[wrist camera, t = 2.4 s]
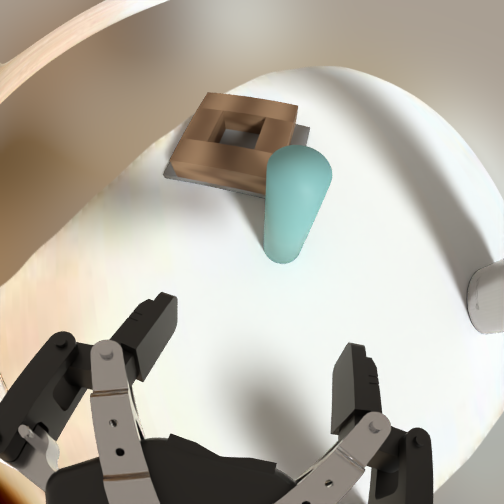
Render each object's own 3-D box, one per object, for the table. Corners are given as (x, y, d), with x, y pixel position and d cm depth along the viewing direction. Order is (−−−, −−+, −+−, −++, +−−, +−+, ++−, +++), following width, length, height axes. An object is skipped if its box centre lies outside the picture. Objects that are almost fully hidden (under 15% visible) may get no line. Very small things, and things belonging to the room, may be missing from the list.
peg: (304, 233, 29) (335, 153, 16) (296, 267, 28) (327, 206, 15) (268, 224, 30) (275, 139, 16) (259, 258, 29) (259, 189, 15)
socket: (309, 131, 34) (313, 109, 30) (292, 205, 30) (296, 185, 26) (199, 112, 36) (194, 91, 31) (165, 177, 32) (154, 158, 28)
